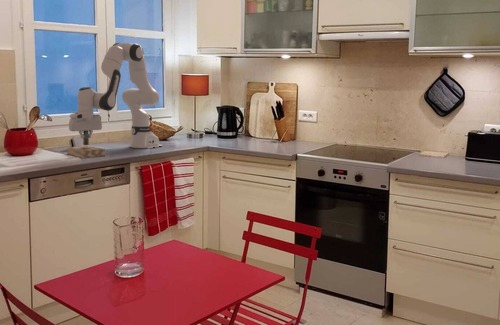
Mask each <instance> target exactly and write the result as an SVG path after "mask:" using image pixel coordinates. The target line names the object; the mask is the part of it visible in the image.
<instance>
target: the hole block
mask: <svg viewBox="0 0 500 325" xmlns="http://www.w3.org/2000/svg"><path fill="white" fill-rule="evenodd" d="M105 150H106V149H105V148H101V147H95V146H91V145H90V146H79V147H70V146H67V152H66V153H67V155H71V156H74V157H78V158H83V159H86V158H97V157H104V156H105V155H106V154H105Z"/></svg>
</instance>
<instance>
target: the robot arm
mask: <svg viewBox="0 0 500 325" xmlns="http://www.w3.org/2000/svg"><path fill="white" fill-rule="evenodd" d="M124 61H125V62H127V61H128V72H129V79H130V81H131V83H132V84H134V85H135V86H136V87H137V88H132V87H131V88H128V89H127V88H126V89H125V90H124V91H123V92H122V95H121V98H122V101H123V103H124V104H125V105H127V106H128V108H129V110H130V112H131V138H130V139H131V140H130V143H129V144H130V145H129V148H133V149H154V148H153V147H155V148H160V147H159V146H162V147H163V144H160V139H159V137H158V136H157V135H156V134H155V133H154V132H152V131H154V129H155V128H154V126H150V115H149V114H148V112H147V111H145V110H144V109H143V106H148V107H151V106H156V105H157V104H158V103H159V102H160V93H159V92H158V91H157V90H155V89H154V88H153V86H152V85H151V84H150V80H149V78H148V72H147V65H146V59H145V56H144V49H143V47H142V46H141V44H139V43H132V42H115V43H113V45H112V46H110V47H109V49H108V50H107V52H106V53H105V55H104V58H103V60H102V63H101V66H100V68H101V70H102V73H103V74H104V75H105V76H106V77H108V78H109V79H108V80H109V81H108V85H107V89H106V92H104V93H103V92H97V91H95V90H94V89H93V87H90V86H86V87H81V88H79V89H78V91H77V92H78V93H77V105H78V106H77V111H76V112H73V113H70V114H69V118H70V119H69V122H68V130H69V131H70V132H78V133H79V135H81V138H85V135H83V131H88V130H89V139H92V134H93V133H94V132H93V131H101V130H102V128H103V123H102V116H101V115H100V114H94V110H95V109H97V110H103V111H107V112H109V111H111V110H113V109H114V108H115V106H116V103H117V94H118V90H119V86H120V82H121V76H122V74H121V72H120V71H121V67H122V65H123V62H124Z"/></svg>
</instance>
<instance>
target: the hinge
mask: <svg viewBox="0 0 500 325" xmlns="http://www.w3.org/2000/svg"><path fill="white" fill-rule="evenodd" d="M68 143H69V147H79V146H91V145H90V144H89V145H83V138H81V135H80V134H78V135H76V136H73V137H71V138H70V139H69V140H68Z"/></svg>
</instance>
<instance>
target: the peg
mask: <svg viewBox="0 0 500 325" xmlns="http://www.w3.org/2000/svg"><path fill="white" fill-rule="evenodd" d="M82 134H83V135H85V138H83V145H90V144H89V143H90V140H89V139H90V138H89V130H88V131H83V133H82Z"/></svg>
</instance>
